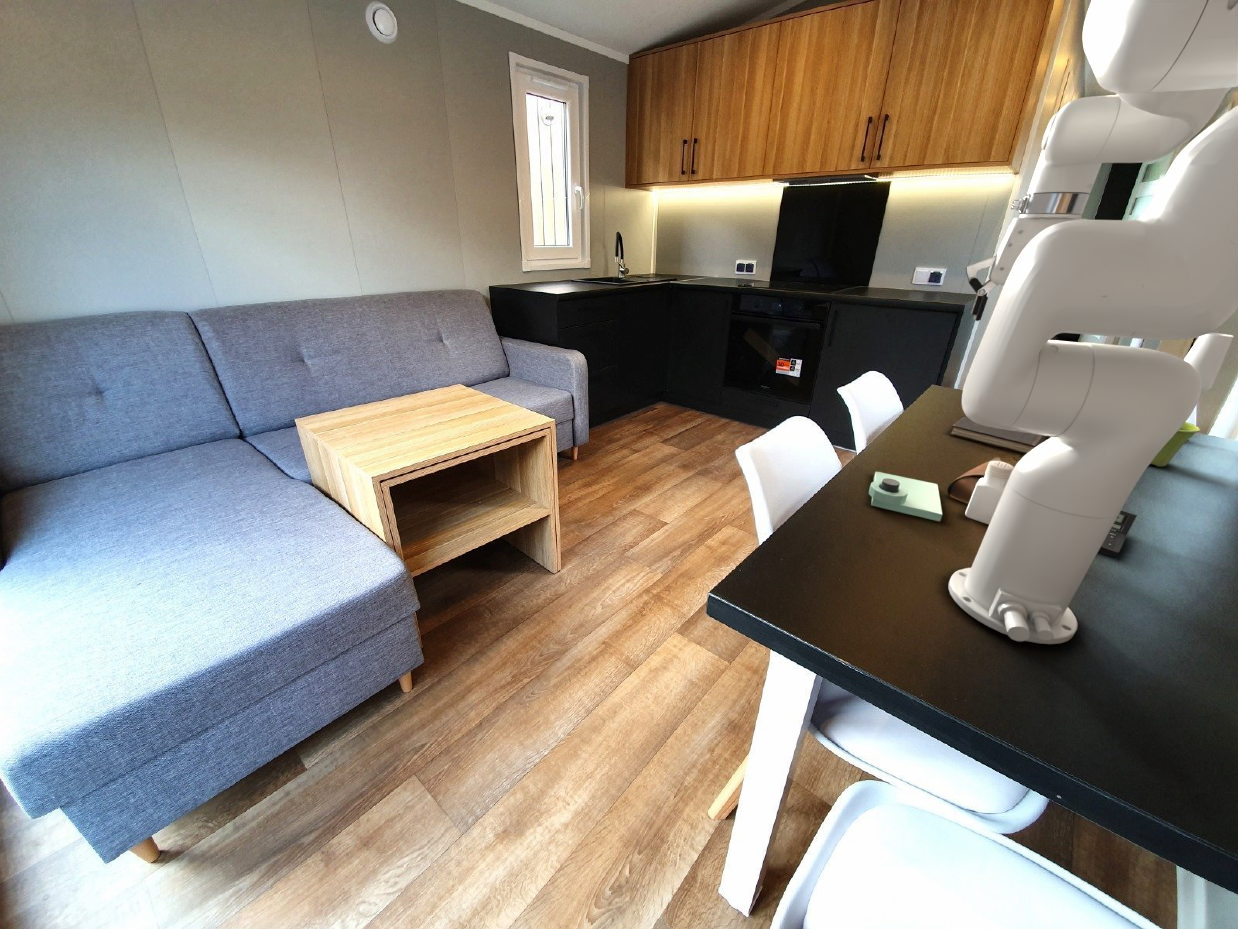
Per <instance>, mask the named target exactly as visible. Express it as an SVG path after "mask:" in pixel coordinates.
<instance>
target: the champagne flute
mask: <svg viewBox="0 0 1238 929" xmlns="http://www.w3.org/2000/svg"><path fill="white" fill-rule="evenodd" d="M1233 340H1234V335H1232V334H1227V333H1220V332H1210V333H1208V334H1205V335H1203V336H1200V337H1197V339H1196V341H1195V342H1194V343H1193V346H1192V347H1191V348H1190V350H1189V351H1188V352H1187V354H1186V355H1185V356H1184V359H1183V360H1185V361H1186V362H1188V363H1189V364H1190V365H1191V366H1192V367H1193V368H1194V369H1195V370H1196V371H1197V373H1198V375H1199V378H1200V381H1201V393H1200V394H1203V393H1206V392H1207V391H1209V390H1210V389H1212V387H1213V386H1214V383H1215V381H1216V379H1217V378H1218V374H1219V372H1220V370H1221V367H1222V365H1223V363H1224V360H1225V358H1226V356H1227V353H1228V351H1229V349H1230V347H1231V344H1232V341H1233Z"/></svg>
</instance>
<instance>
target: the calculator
mask: <svg viewBox="0 0 1238 929" xmlns="http://www.w3.org/2000/svg"><path fill="white" fill-rule="evenodd" d="M1136 518H1137V514H1134V513H1131V512H1127V511H1123V510H1121V511H1120V513H1119V515H1118V516H1117V518H1116V520H1115V522H1114V524H1113V525H1112V527H1111V529H1110V531H1109V533H1108V535H1107V536H1106V538H1105V540H1104V542H1103V544H1102V545H1101V547H1100V549H1099V551H1098V553H1101V554H1104V555H1106V556H1110V557H1112V558H1117V557H1118V555H1119V554H1120V551H1121V548H1122V546H1123V545H1124V542H1125V540H1126V538H1127V535H1128V533H1129V532H1130V529H1131V527H1132V525H1133V524H1134V522H1135V520H1136Z"/></svg>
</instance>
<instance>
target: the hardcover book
mask: <svg viewBox="0 0 1238 929" xmlns="http://www.w3.org/2000/svg"><path fill="white" fill-rule="evenodd" d="M951 428H953V429H952V431H951V432H949V435H950V436H954V437H957V438H960V439H964V440H969V441H973V442H977V443H980V444H983V445H988V446H992V447H996V448H999V449H1004V450H1007V451H1011V452H1015V453H1019V454H1023V455H1026V454H1027V453H1028V452H1029V451H1031V450H1032V449H1034V448H1035V447H1036V446H1038V445H1039V444H1041V443H1043V442H1044V441H1046V440H1047V438H1048V436H1045V435H1039V434H1032V433H1025V432H1019V431H1012V430H1005V429H999V428H993V427H989V426H984V425H980V424H978V423H975V422H973V421H972V420H970V419H969V418H968V417H967V416H966V415H965V414H964V416H963V417H961V418H960V419H959V420H958V421H956V422H955V423H954V424H953V425H951Z"/></svg>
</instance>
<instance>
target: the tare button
mask: <svg viewBox="0 0 1238 929" xmlns="http://www.w3.org/2000/svg"><path fill="white" fill-rule="evenodd" d="M899 486H900V483H899V482H898V481H896V480H894V479H889V478H885V479H883V480H882V483H881V487H880V488H881V489H882V490H884V491H886V492H891V493H897V492H898V489H899Z"/></svg>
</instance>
